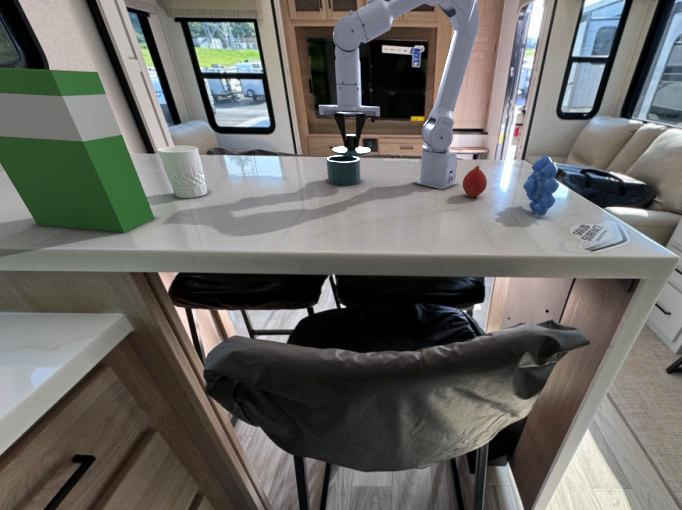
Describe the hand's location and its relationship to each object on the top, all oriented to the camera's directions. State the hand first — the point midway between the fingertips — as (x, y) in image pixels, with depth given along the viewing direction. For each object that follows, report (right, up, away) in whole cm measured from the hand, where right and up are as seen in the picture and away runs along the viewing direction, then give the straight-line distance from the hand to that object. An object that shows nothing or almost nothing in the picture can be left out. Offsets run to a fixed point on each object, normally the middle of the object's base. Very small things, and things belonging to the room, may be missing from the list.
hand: (351, 147), depth 86 cm
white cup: (-37, -14, -6) cm, 40 cm away
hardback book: (-45, -24, -22) cm, 56 cm away
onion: (+31, -14, -1) cm, 34 cm away
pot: (-3, -6, +8) cm, 10 cm away
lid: (0, -1, +1) cm, 1 cm away
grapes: (+43, -19, -9) cm, 48 cm away
